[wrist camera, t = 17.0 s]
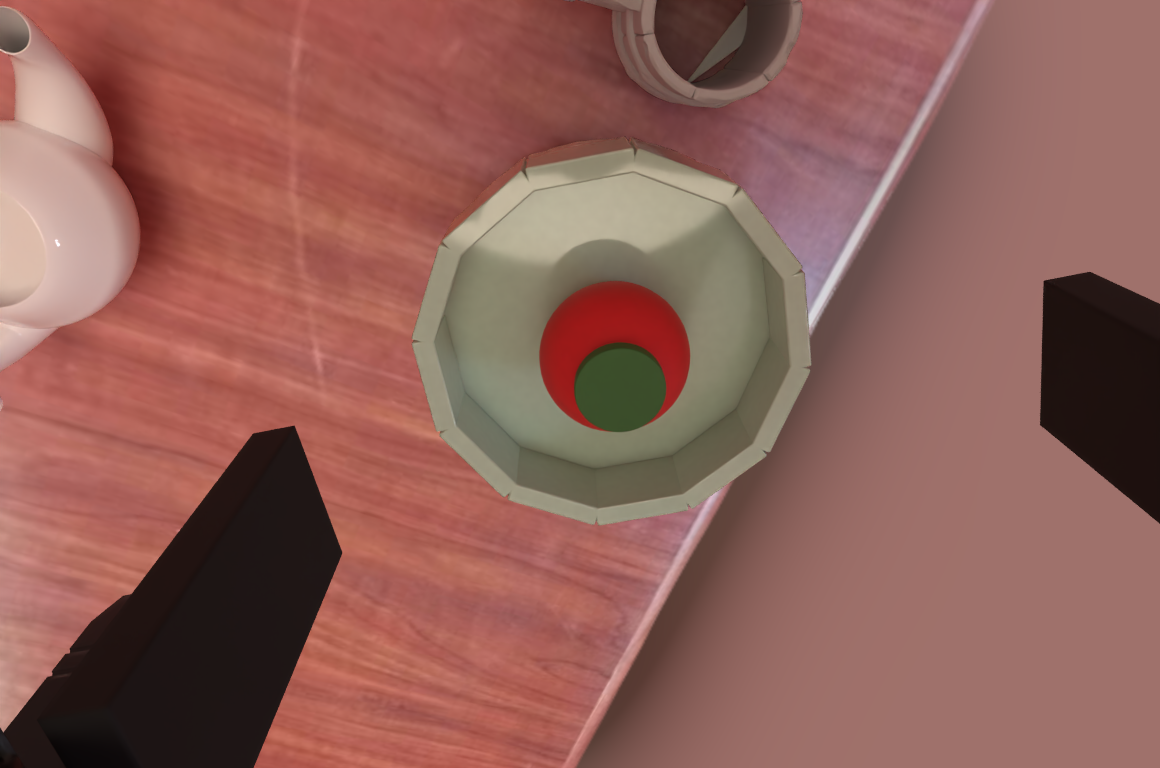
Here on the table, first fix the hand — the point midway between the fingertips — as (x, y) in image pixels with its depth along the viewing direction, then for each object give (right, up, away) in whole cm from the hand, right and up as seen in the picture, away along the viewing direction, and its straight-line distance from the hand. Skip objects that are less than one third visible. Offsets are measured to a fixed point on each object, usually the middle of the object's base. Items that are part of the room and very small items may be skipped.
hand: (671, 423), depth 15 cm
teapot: (-28, +10, +30) cm, 42 cm away
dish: (-1, +9, +31) cm, 32 cm away
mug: (+2, +19, +26) cm, 33 cm away
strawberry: (0, +3, +18) cm, 18 cm away
